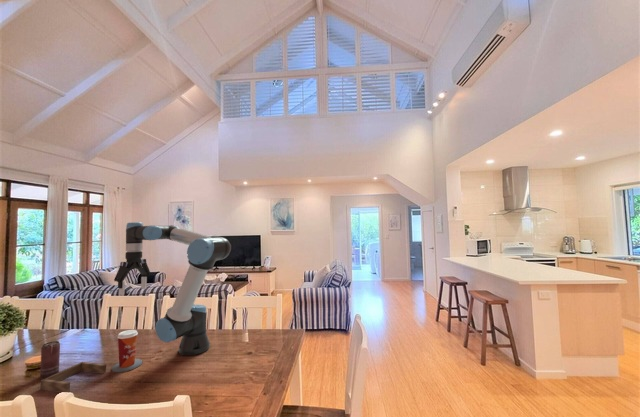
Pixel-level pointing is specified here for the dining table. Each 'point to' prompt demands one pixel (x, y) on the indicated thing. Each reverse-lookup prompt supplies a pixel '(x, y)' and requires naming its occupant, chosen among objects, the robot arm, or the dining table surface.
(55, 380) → the u-shaped wooden bracket
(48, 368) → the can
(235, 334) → the dining table surface
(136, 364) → the coaster
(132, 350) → the coffee cup
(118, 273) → the robot arm
